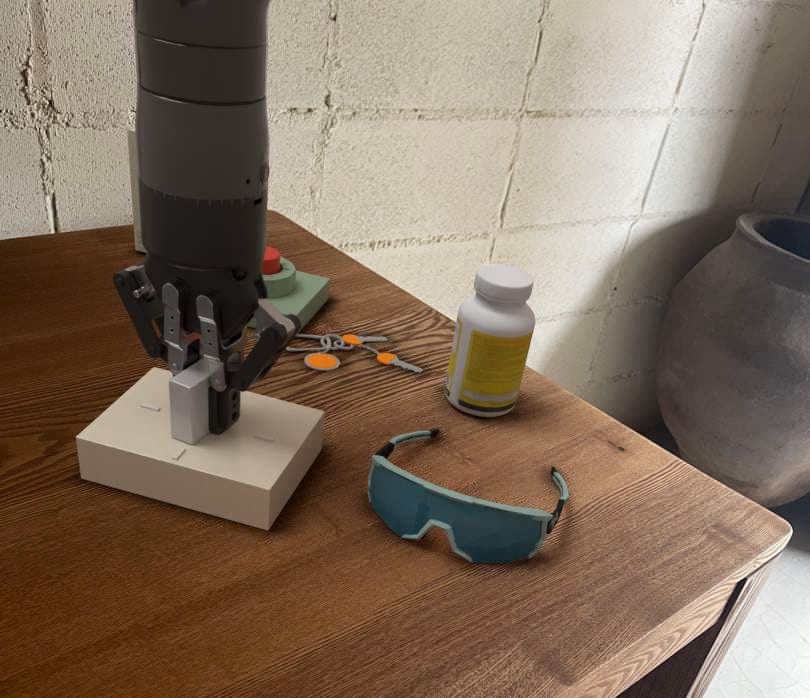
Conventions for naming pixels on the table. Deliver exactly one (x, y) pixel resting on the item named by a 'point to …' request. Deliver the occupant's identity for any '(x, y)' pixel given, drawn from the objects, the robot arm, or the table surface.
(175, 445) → the base
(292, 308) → the button box
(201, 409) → the grey flat block
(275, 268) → the button
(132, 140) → the cosmetic box
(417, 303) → the table surface
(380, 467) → the sunglasses
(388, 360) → the key chain
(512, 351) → the pill bottle
